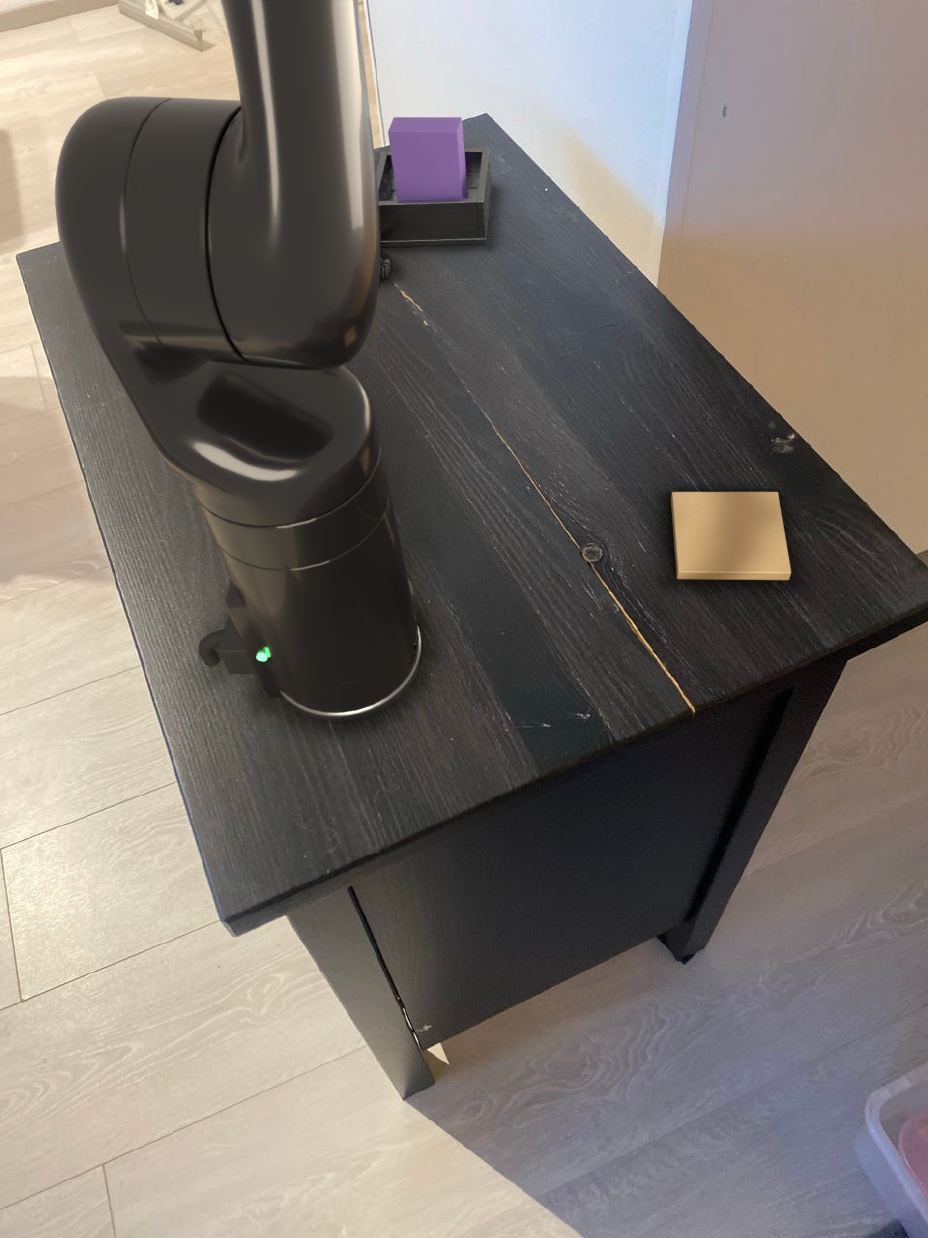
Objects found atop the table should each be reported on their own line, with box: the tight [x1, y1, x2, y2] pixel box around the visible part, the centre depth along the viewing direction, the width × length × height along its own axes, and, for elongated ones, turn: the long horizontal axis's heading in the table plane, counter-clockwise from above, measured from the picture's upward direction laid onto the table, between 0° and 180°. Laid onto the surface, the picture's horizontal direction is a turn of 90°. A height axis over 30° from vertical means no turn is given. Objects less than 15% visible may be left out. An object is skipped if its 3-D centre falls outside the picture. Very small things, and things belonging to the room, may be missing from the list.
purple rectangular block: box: [387, 116, 468, 201], centre depth 84 cm, size 2×6×8 cm, turn 81°
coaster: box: [670, 491, 792, 581], centre depth 62 cm, size 7×7×1 cm
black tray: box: [376, 147, 492, 248], centre depth 86 cm, size 10×9×4 cm
